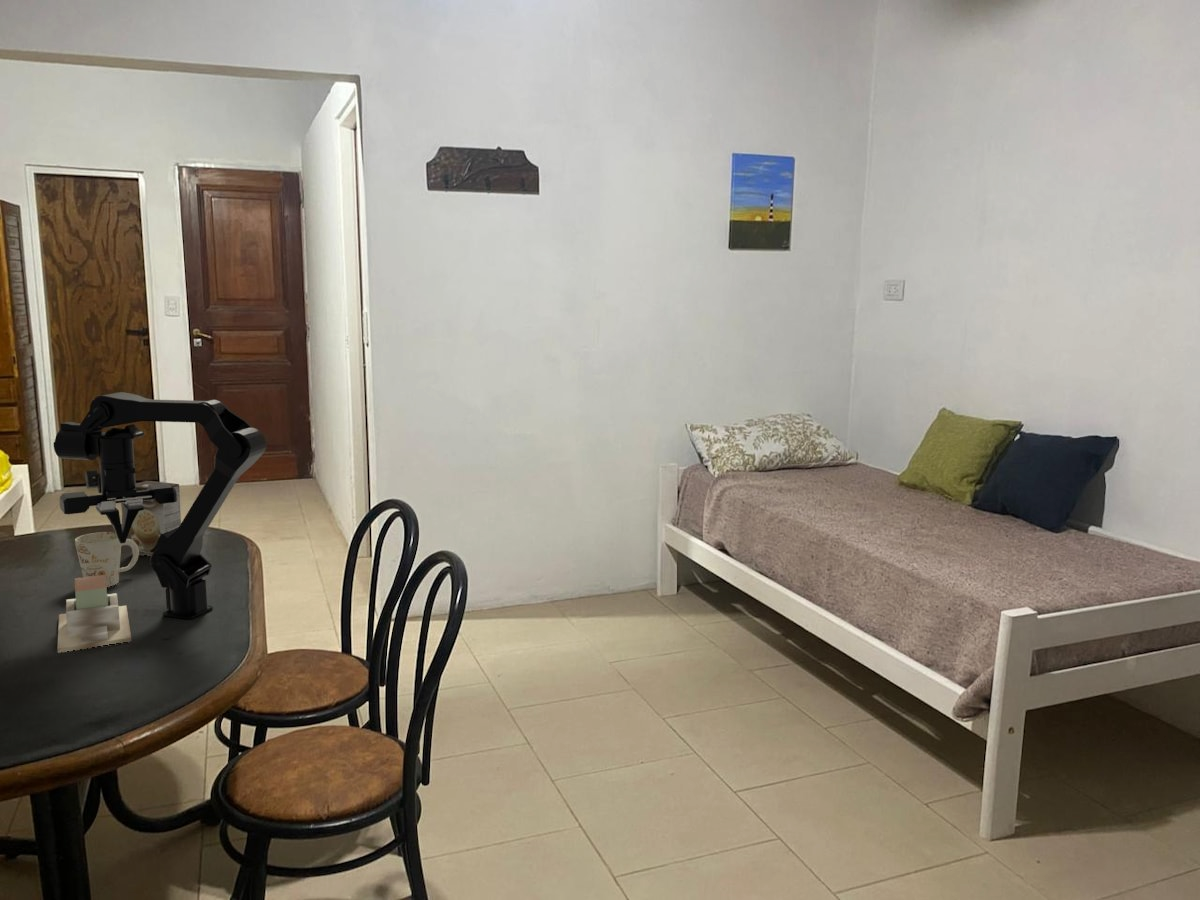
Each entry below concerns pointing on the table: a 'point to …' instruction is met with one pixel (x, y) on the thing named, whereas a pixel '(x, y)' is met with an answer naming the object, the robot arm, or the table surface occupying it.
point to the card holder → (93, 626)
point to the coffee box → (154, 519)
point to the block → (91, 592)
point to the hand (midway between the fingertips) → (122, 542)
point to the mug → (103, 555)
